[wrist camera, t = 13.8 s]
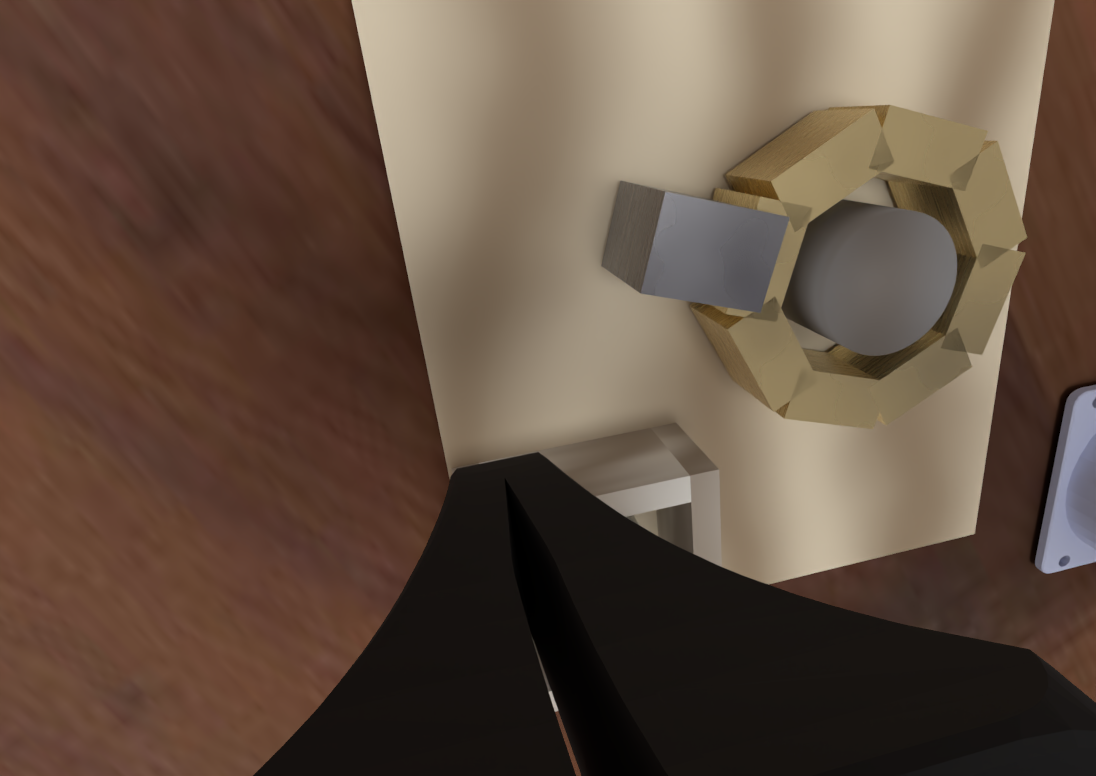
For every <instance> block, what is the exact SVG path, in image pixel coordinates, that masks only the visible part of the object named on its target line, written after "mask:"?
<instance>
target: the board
mask: <svg viewBox="0 0 1096 776" xmlns="http://www.w3.org/2000/svg"><path fill="white" fill-rule="evenodd" d="M352 5H353V10H354V15H355V19H356V24H357V29H358V34H359V39H360V44H361V49H362V54H363V59H364V63H365V68H366V73H367V78H368V83H369V88H370V93H371V98H372V103H373V107H374V112H375V117H376V122H377V127H378V132H379V137H380V142H381V146H382V151H383V156H384V161H385V166H386V171H387V176H388V181H389V186H390V190H391V195H392V200H393V205H394V210H395V215H396V220H397V225H398V229H399V234H400V239H401V244H402V249H403V254H404V259H405V264H406V269H407V273H408V278H409V283H410V288H411V293H412V298H413V303H414V308H415V313H416V317H417V322H418V327H419V332H420V337H421V342H422V347H423V352H424V356H425V361H426V366H427V371H428V376H429V381H430V386H431V391H432V396H433V400H434V405H435V410H436V415H437V420H438V425H439V430H440V435H441V439H442V444H443V449H444V454H445V459H446V464H447V469H448V474H449V479H450V477H451V475H452V474H453V473H454V471H455V470H456V469H457V468H462V467H467V466H472V465H477V464H482V463H487V462H492V461H496V460H501V459H506V458H511V457H516V456H521V455H526V454H531V453H536V452H539V453H540V454H542V455H543V456H545V457H546V458H547V459H549V460H550V461H551V462H552V463H553V464H555V465H556V466H557V467H558V468H559V469H561V470H562V471H563V472H564V473H566V474H567V475H568V476H569V477H571V478H572V479H573V480H574V481H576V482H577V483H578V484H580V485H581V486H582V487H583V488H585V489H586V490H587V491H589V492H590V493H591V494H593V495H594V496H596V497H597V498H599V499H600V500H601V501H603V502H604V503H606V504H607V505H609V506H610V507H611V508H613V509H614V510H616V511H617V512H619V513H620V514H622V515H623V516H625V517H627V516H631V515H634V517H635V518H636V520H637V522H638V523H639V525H640V526H641V527H643V528H645V529H646V530H648V531H650V532H652V533H653V534H655V535H657V536H659V537H660V538H662V539H664V540H666V541H668V542H670V543H672V544H674V545H676V546H678V547H680V548H682V549H684V550H686V551H688V552H690V553H693V554H695V555H697V556H699V557H701V558H703V559H705V560H708V561H710V562H712V563H714V564H716V565H718V566H721V567H723V568H726V569H728V570H731V571H733V572H735V573H738V574H740V575H743V576H745V577H748V578H751V579H754V580H757V581H759V582H762V583H765V584H772V583H776V582H780V581H784V580H788V579H792V578H796V577H801V576H805V575H809V574H813V573H817V572H821V571H825V570H829V569H833V568H837V567H842V566H846V565H850V564H854V563H858V562H862V561H866V560H870V559H874V558H878V557H882V556H887V555H891V554H895V553H899V552H903V551H907V550H911V549H915V548H919V547H923V546H927V545H932V544H936V543H940V542H944V541H948V540H952V539H956V538H960V537H964V536H968V535H972V534H975V528H976V521H977V515H978V508H979V501H980V495H981V488H982V481H983V475H984V468H985V461H986V455H987V448H988V441H989V434H990V428H991V421H992V414H993V408H994V401H995V394H996V388H997V381H998V374H999V368H1000V361H1001V354H1002V348H1003V341H1004V334H1005V328H1006V321H1007V314H1008V307H1009V301H1010V294H1011V289H1010V291H1009V294H1008V296H1007V298H1006V301H1005V303H1004V305H1003V308H1002V310H1001V312H1000V315H999V317H998V319H997V322H996V324H995V326H994V329H993V331H992V333H991V336H990V338H989V340H988V343H987V345H986V347H985V350H984V352H983V354H982V355H979V354H973V353H967V354H968V357H969V359H970V362H971V365H972V368H970V369H969V370H967V371H966V372H964V373H963V374H961V375H960V376H958V377H957V378H955V379H954V380H953V381H951V382H950V383H948V384H947V385H945V386H944V387H942V388H941V389H939V390H938V391H936V392H935V393H933V394H932V395H931V396H929V397H928V398H926V399H925V400H923V401H922V402H920V403H919V404H917V405H916V406H914V407H913V408H911V409H910V410H908V411H907V412H906V413H904V414H903V415H901V416H900V417H898V418H897V419H895V420H894V421H892V422H891V423H889V424H888V425H884V424H883V423H881V422H880V421H878V420H877V421H876V423H875V426H874V428H873V429H866V428H858V427H849V426H841V425H832V424H824V423H815V422H807V421H798V420H790V419H784V418H783V417H781V416H780V415H779V414H777V413H776V412H773V411H772V410H770V409H769V408H768V407H767V406H765V405H764V404H763V403H761V402H760V401H759V400H757V399H756V398H755V397H754V396H752V395H751V394H750V393H748V392H747V391H746V390H744V389H743V388H742V387H741V386H739V385H738V384H737V383H735V382H734V381H733V380H732V379H731V377H730V375H729V373H728V372H727V370H726V368H725V366H724V365H723V363H722V361H721V360H720V358H719V356H718V354H717V353H716V351H715V349H714V348H713V346H712V344H711V342H710V341H709V339H708V337H707V335H706V334H705V332H704V330H703V329H702V327H701V325H700V323H699V322H698V320H697V318H696V316H695V315H694V313H693V311H692V310H691V308H690V306H689V305H691V304H692V303H694V302H690V301H683V300H677V299H671V298H665V297H659V296H653V295H646V294H641V293H639V292H638V291H636V290H635V289H633V288H632V287H631V286H629V285H628V284H626V283H625V282H623V281H622V280H621V279H619V278H618V277H616V276H615V275H613V274H612V273H611V272H609V271H608V270H606V269H605V268H603V267H602V266H601V265H602V260H603V256H604V251H605V247H606V242H607V238H608V233H609V229H610V225H611V220H612V216H613V211H614V207H615V202H616V198H617V193H618V189H619V184H620V180H621V181H626V182H630V183H635V184H640V185H645V186H650V187H655V188H660V189H664V190H669V191H674V192H679V193H684V194H689V195H693V196H698V197H703V198H708V199H713V196H714V192H715V188H719V189H724V190H729V191H733V190H732V188H731V186H730V184H729V182H728V180H727V178H726V176H725V174H726V173H728V172H729V171H730V170H732V169H733V168H735V167H736V166H737V165H739V164H740V163H742V162H743V161H744V160H746V159H747V158H749V157H750V156H751V155H753V154H754V153H756V152H757V151H758V150H760V149H761V148H763V147H764V146H765V145H767V144H768V143H770V142H771V141H773V140H774V139H775V138H777V137H778V136H780V135H781V134H782V133H784V132H785V131H787V130H788V129H789V128H791V127H792V126H794V125H795V124H796V123H798V122H799V121H801V120H802V119H803V118H805V117H806V116H808V115H809V114H810V113H812V112H813V111H818V110H828V108H829V107H851V106H874V105H893V106H897V107H901V108H904V109H908V110H912V111H916V112H919V113H923V114H927V115H931V116H934V117H938V118H942V119H946V120H949V121H953V122H957V123H961V124H964V125H968V126H972V127H976V128H979V129H983V130H987V131H988V133H987V136H986V138H985V141H998V143H999V146H1000V149H1001V153H1002V156H1003V159H1004V163H1005V166H1006V169H1007V172H1008V176H1009V179H1010V182H1011V186H1012V189H1013V192H1014V195H1015V199H1016V202H1017V205H1018V209H1019V212H1020V215H1021V219H1022V214H1023V207H1024V201H1025V194H1026V187H1027V181H1028V174H1029V167H1030V160H1031V154H1032V147H1033V140H1034V134H1035V127H1036V120H1037V114H1038V107H1039V100H1040V94H1041V87H1042V80H1043V74H1044V67H1045V60H1046V54H1047V47H1048V40H1049V33H1050V27H1051V20H1052V13H1053V7H1054V0H352ZM1017 247H1018V244H1017V245H1016V246H1014V247H1013V248H1012V249H1010V250H1015V251H1017ZM956 275H957V255H956V250H955V246H954V243H953V240H952V238H951V236H950V235H949V233H948V231H947V230H946V229H945V227H944V226H943V225H942V224H941V223H940V222H939V221H938V220H936V219H935V218H933V217H931V216H929V215H927V214H925V213H921V212H917V211H912V210H906V209H900V208H898V207H897V204H896V202H895V199H894V196H893V194H892V191H891V189H890V186H889V184H888V181H885V180H881V179H877V178H872V179H870V180H869V181H868V182H866V183H865V184H863V185H862V186H860V187H859V188H858V189H856V190H855V191H853V192H852V193H850V194H849V195H848V196H846V197H845V198H843V199H842V200H840V201H839V202H838V203H836V204H835V205H833V206H832V207H831V208H829V209H828V210H826V211H825V212H823V213H822V214H821V215H819V216H818V217H816V218H815V219H813V220H812V221H811V222H809V223H808V225H807V228H806V231H805V234H804V238H803V241H802V244H801V247H800V250H799V253H798V256H797V260H796V263H795V266H794V269H793V272H792V275H791V278H790V282H789V285H788V288H787V291H786V294H785V297H784V301H783V304H782V307H781V309H782V311H783V313H784V315H785V317H786V319H787V321H788V322H789V324H790V326H791V328H792V330H793V332H794V334H795V336H796V338H797V340H798V342H799V344H800V346H801V348H802V349H808V350H814V351H821V352H829V351H831V350H832V349H834V348H835V347H837V346H838V345H841V346H843V347H845V348H847V349H849V350H851V351H853V352H856V353H859V354H862V355H869V356H880V355H887V354H890V353H894V352H897V351H899V350H902V349H904V348H906V347H908V346H910V345H911V344H913V343H914V342H916V341H917V340H919V339H920V338H921V337H922V336H923V335H925V334H926V333H927V332H928V331H929V330H930V329H931V328H932V327H933V325H934V324H935V323H936V322H937V320H938V319H939V318H940V316H941V315H942V313H943V312H944V310H945V308H946V306H947V304H948V302H949V300H950V297H951V295H952V292H953V289H954V285H955V281H956ZM1011 287H1012V286H1011ZM532 639H533V638H532ZM533 642H534V641H533ZM534 645H535V644H534ZM535 649H536V646H535ZM536 652H537V649H536ZM537 656H538V659H539V663H540V666H541V669H542V672H543V675H544V679H545V682H546V685H547V688H548V691H549V695H550V698H551V701H552V704H553V708H554V711H555V712H556V711H558V708H557V705H556V702H555V700H554V697H553V694H552V691H551V689H550V686H549V683H548V680H547V677H546V675H545V672H544V669H543V666H542V663H541V660H540V658H539V655H538V652H537Z"/></svg>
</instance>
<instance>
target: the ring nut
mask: <svg viewBox="0 0 1096 776" xmlns="http://www.w3.org/2000/svg"><path fill="white" fill-rule="evenodd" d="M987 133H988V131H987V130H983V129H979V128H976V127H972V126H968V125H964V124H961V123H957V122H953V121H949V120H946V119H942V118H938V117H934V116H931V115H927V114H923V113H919V112H916V111H912V110H908V109H904V108H901V107H897V106H893V105H874V106H851V107H829V108H828V110H818V111H813V112H812V113H810V114H809V115H808V116H806V117H805V118H803V119H802V120H801V121H799V122H798V123H796V124H795V125H794V126H792V127H791V128H789V129H788V130H787V131H785V132H784V133H782V134H781V135H780V136H778V137H777V138H775V139H774V140H773V141H771V142H770V143H768V144H767V145H765V146H764V147H763V148H761V149H760V150H758V151H757V152H756V153H754V154H753V155H751V156H750V157H749V158H747V159H746V160H744V161H743V162H742V163H740V164H739V165H737V166H736V167H735V168H733V169H732V170H730V171H729V172H728V173H726V174H725V176H726V178H727V180H728V182H729V184H730V186H731V188H732V190H733V191H729V190H724V189H719V188H715V192H714V196H713V199H708V198H703V197H698V196H693V195H689V194H684V193H679V192H674V191H669V190H664V189H660V188H655V187H650V186H645V185H640V184H635V183H630V182H626V181H621V180H620V184H619V189H618V193H617V198H616V202H615V207H614V211H613V216H612V220H611V225H610V229H609V233H608V238H607V242H606V247H605V251H604V256H603V260H602V265H601V266H602V267H603V268H605V269H606V270H608V271H609V272H611V273H612V274H613V275H615V276H616V277H618V278H619V279H621V280H622V281H623V282H625V283H626V284H628V285H629V286H631V287H632V288H633V289H635V290H636V291H638V292H639V293H641V294H646V295H653V296H659V297H665V298H671V299H677V300H683V301H690V302H694V303H692V304H691V305H689V306H690V308H691V310H692V311H693V313H694V315H695V316H696V318H697V320H698V322H699V323H700V325H701V327H702V329H703V330H704V332H705V334H706V335H707V337H708V339H709V341H710V342H711V344H712V346H713V348H714V349H715V351H716V353H717V354H718V356H719V358H720V360H721V361H722V363H723V365H724V366H725V368H726V370H727V372H728V373H729V375H730V377H731V379H732V380H733V381H734V382H735V383H737V384H738V385H739V386H741V387H742V388H743V389H744V390H746V391H747V392H748V393H750V394H751V395H752V396H754V397H755V398H756V399H757V400H759V401H760V402H761V403H763V404H764V405H765V406H767V407H768V408H769V409H770V410H772V411H773V412H776V413H777V414H779V415H780V416H781V417H783V418H784V419H790V420H798V421H807V422H815V423H824V424H832V425H841V426H849V427H858V428H866V429H873V428H874V426H875V423H876V421H877V420H878V421H880V422H881V423H883V424H884V425H888V424H889V423H891V422H892V421H894V420H895V419H897V418H898V417H900V416H901V415H903V414H904V413H906V412H907V411H908V410H910V409H911V408H913V407H914V406H916V405H917V404H919V403H920V402H922V401H923V400H925V399H926V398H928V397H929V396H931V395H932V394H933V393H935V392H936V391H938V390H939V389H941V388H942V387H944V386H945V385H947V384H948V383H950V382H951V381H953V380H954V379H955V378H957V377H958V376H960V375H961V374H963V373H964V372H966V371H967V370H969V369H970V368H972V365H971V362H970V359H969V357H968V354H967V353H973V354H979V355H982V354H983V352H984V350H985V347H986V345H987V343H988V340H989V338H990V336H991V333H992V331H993V329H994V326H995V324H996V322H997V319H998V317H999V315H1000V312H1001V310H1002V308H1003V305H1004V303H1005V301H1006V298H1007V296H1008V294H1009V291H1010V289H1011V286H1012V284H1013V282H1014V279H1015V277H1016V275H1017V272H1018V270H1019V268H1020V265H1021V263H1022V261H1023V258H1024V256H1025V254H1026V253H1024V252H1019V251H1015V250H1010V249H1012V248H1013V247H1014V246H1016V245H1017V244H1019V243H1020V242H1022V241H1023V240H1025V239H1026V238H1027V235H1026V232H1025V228H1024V225H1023V222H1022V219H1021V215H1020V212H1019V209H1018V205H1017V202H1016V199H1015V195H1014V192H1013V189H1012V186H1011V182H1010V179H1009V176H1008V172H1007V169H1006V166H1005V163H1004V159H1003V156H1002V153H1001V149H1000V146H999V143H998V141H985V138H986V136H987ZM872 178H877V179H881V180H885V181H888V184H889V186H890V189H891V191H892V194H893V196H894V199H895V202H896V204H897V207H898V208H900V209H906V210H912V211H917V212H921V213H925V214H927V215H929V216H931V217H933V218H935V219H936V220H938V221H939V222H940V223H941V224H942V225H943V226H944V227H945V229H946V230H947V231H948V233H949V235H950V236H951V238H952V240H953V243H954V246H955V250H956V255H957V275H956V281H955V285H954V289H953V292H952V295H951V297H950V300H949V302H948V304H947V306H946V308H945V310H944V312H943V313H942V315H941V316H940V318H939V319H938V320H937V322H936V323H935V324H934V325H933V327H932V328H931V329H930V330H929V331H928V332H927V333H926V334H925V335H923V336H922V337H921V338H920V339H919V340H917V341H916V342H914V343H913V344H911V345H910V346H908V347H906V348H904V349H902V350H899V351H897V352H894V353H890V354H887V355H880V356H869V355H862V354H859V353H856V352H853V351H851V350H849V349H847V348H845V347H843V346H841V345H838V346H837V347H835V348H834V349H832V350H831V351H829V352H821V351H814V350H808V349H802V348H801V346H800V344H799V342H798V340H797V338H796V336H795V334H794V332H793V330H792V328H791V326H790V324H789V322H788V321H787V319H786V317H785V315H784V313H783V311H782V309H781V307H782V304H783V301H784V297H785V294H786V291H787V288H788V285H789V282H790V278H791V275H792V272H793V269H794V266H795V263H796V260H797V256H798V253H799V250H800V247H801V244H802V241H803V238H804V234H805V231H806V228H807V225H808V223H809V222H811V221H812V220H813V219H815V218H816V217H818V216H819V215H821V214H822V213H823V212H825V211H826V210H828V209H829V208H831V207H832V206H833V205H835V204H836V203H838V202H839V201H840V200H842V199H843V198H845V197H846V196H848V195H849V194H850V193H852V192H853V191H855V190H856V189H858V188H859V187H860V186H862V185H863V184H865V183H866V182H868V181H869V180H870V179H872Z"/></svg>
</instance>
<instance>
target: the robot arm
mask: <svg viewBox="0 0 1096 776" xmlns="http://www.w3.org/2000/svg"><path fill="white" fill-rule="evenodd" d="M1093 562H1096V385H1092V386H1087V387H1082V388H1079V389H1077V390H1075V391H1073V392H1072V393H1071V394H1070V395H1069V397H1068V398H1067V401H1066V404H1065V409H1064V414H1063V419H1062V425H1061V430H1060V435H1059V440H1058V445H1057V450H1056V455H1055V460H1054V466H1053V471H1052V476H1051V481H1050V486H1049V491H1048V496H1047V502H1046V507H1045V512H1044V517H1043V522H1042V527H1041V532H1040V537H1039V543H1038V548H1037V553H1036V558H1035V566H1036V567H1037V568H1038V569H1039V570H1041V571H1042V572H1044V573H1046V574H1048V573H1054V572H1058V571H1062V570H1065V569H1069V568H1073V567H1077V566H1081V565H1085V564H1089V563H1093ZM532 638H533V639H532ZM533 641H534V642H533ZM534 644H535V645H534ZM535 646H536V649H537V652H538V655H539V658H540V660H541V663H542V666H543V669H544V672H545V675H546V677H547V680H548V683H549V686H550V689H551V691H552V694H553V697H554V700H555V702H556V705H557V708H558V711H559V714H560V716H561V719H562V722H563V725H564V728H565V730H566V733H567V736H568V739H569V742H570V744H571V747H572V750H573V753H574V755H575V758H576V761H577V764H578V767H579V769H580V772H581V776H1096V703H1095V702H1094V701H1093V700H1092V699H1090V698H1089V697H1088V696H1087V695H1086V694H1084V693H1083V692H1082V691H1081V690H1079V689H1078V688H1077V687H1076V686H1075V685H1073V684H1072V683H1071V682H1070V681H1069V680H1067V679H1066V678H1065V677H1064V676H1063V675H1061V674H1060V673H1059V672H1058V671H1057V670H1055V669H1054V668H1053V667H1052V666H1051V665H1049V664H1048V663H1047V662H1045V661H1044V660H1043V659H1041V658H1040V657H1039V656H1037V655H1036V654H1035V653H1034V652H1032V651H1031V650H1030V649H1024V648H1019V647H1014V646H1009V645H1004V644H999V643H994V642H989V641H984V640H979V639H974V638H969V637H964V636H958V635H953V634H948V633H943V632H938V631H933V630H928V629H923V628H918V627H913V626H908V625H904V624H900V623H895V622H891V621H887V620H884V619H880V618H876V617H872V616H869V615H865V614H861V613H857V612H854V611H850V610H846V609H842V608H839V607H835V606H831V605H828V604H825V603H822V602H818V601H815V600H812V599H809V598H805V597H802V596H799V595H796V594H793V593H790V592H787V591H784V590H782V589H779V588H776V587H773V586H770V585H768V584H765V583H762V582H759V581H757V580H754V579H751V578H748V577H745V576H743V575H740V574H738V573H735V572H733V571H731V570H728V569H726V568H723V567H721V566H718V565H716V564H714V563H712V562H710V561H708V560H705V559H703V558H701V557H699V556H697V555H695V554H693V553H690V552H688V551H686V550H684V549H682V548H680V547H678V546H676V545H674V544H672V543H670V542H668V541H666V540H664V539H662V538H660V537H659V536H657V535H655V534H653V533H652V532H650V531H648V530H646V529H645V528H643V527H641V526H640V525H638V524H636V523H635V522H633V521H631V520H629V519H628V518H626V517H625V516H623V515H622V514H620V513H619V512H617V511H616V510H614V509H613V508H611V507H610V506H609V505H607V504H606V503H604V502H603V501H601V500H600V499H599V498H597V497H596V496H594V495H593V494H591V493H590V492H589V491H587V490H586V489H585V488H583V487H582V486H581V485H580V484H578V483H577V482H576V481H574V480H573V479H572V478H571V477H569V476H568V475H567V474H566V473H564V472H563V471H562V470H561V469H559V468H558V467H557V466H556V465H555V464H553V463H552V462H551V461H550V460H549V459H547V458H546V457H545V456H543V455H542V454H540V453H539V452H536V453H531V454H526V455H521V456H516V457H511V458H506V459H501V460H496V461H492V462H487V463H482V464H477V465H472V466H467V467H462V468H457V469H456V470H455V471H454V473H453V474H452V475H451V477H450V482H449V487H448V491H447V494H446V497H445V501H444V503H443V506H442V509H441V512H440V514H439V517H438V520H437V522H436V524H435V527H434V529H433V531H432V533H431V536H430V538H429V540H428V543H427V545H426V547H425V549H424V551H423V554H422V556H421V558H420V559H419V561H418V563H417V565H416V567H415V569H414V571H413V572H412V574H411V576H410V578H409V580H408V582H407V584H406V586H405V587H404V589H403V591H402V593H401V595H400V596H399V598H398V600H397V601H396V603H395V605H394V606H393V608H392V609H391V611H390V613H389V614H388V616H387V617H386V619H385V620H384V622H383V624H382V625H381V626H380V628H379V629H378V631H377V632H376V634H375V635H374V637H373V638H372V640H371V641H370V642H369V644H368V645H367V647H366V648H365V650H364V651H363V652H362V654H361V655H360V656H359V657H358V659H357V660H356V661H355V663H354V664H353V665H352V667H351V668H350V669H349V670H348V672H347V673H346V674H345V676H344V677H343V678H342V679H341V681H340V682H339V683H338V685H337V686H336V687H335V688H334V689H333V691H332V692H331V693H330V694H329V695H328V697H327V698H326V699H325V700H324V702H323V703H322V704H321V705H320V706H319V708H318V709H317V710H316V711H315V712H314V713H313V714H312V715H311V716H310V718H309V719H308V720H307V721H306V722H305V723H304V724H303V725H302V726H301V727H300V728H299V729H298V730H297V731H296V733H295V734H294V735H293V736H292V737H291V738H290V739H289V740H288V741H287V742H286V743H285V744H284V745H283V746H282V747H281V748H280V749H279V750H278V751H277V752H276V753H275V754H274V755H273V756H272V757H271V758H270V759H269V760H268V761H267V762H266V763H265V764H264V765H263V766H262V767H261V768H260V769H259V770H258V771H257V772H256V773H255V774H254V775H253V776H576V774H575V771H574V768H573V765H572V762H571V759H570V756H569V753H568V750H567V747H566V744H565V741H564V738H563V735H562V732H561V729H560V726H559V723H558V720H557V717H556V714H555V711H554V708H553V704H552V701H551V698H550V695H549V691H548V688H547V685H546V682H545V679H544V675H543V672H542V669H541V666H540V663H539V659H538V656H537V652H536V649H535Z"/></svg>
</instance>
